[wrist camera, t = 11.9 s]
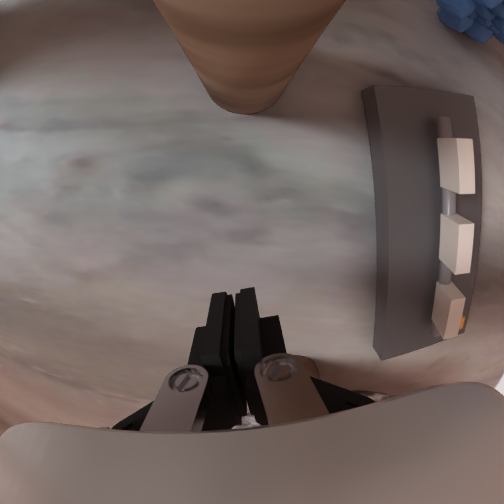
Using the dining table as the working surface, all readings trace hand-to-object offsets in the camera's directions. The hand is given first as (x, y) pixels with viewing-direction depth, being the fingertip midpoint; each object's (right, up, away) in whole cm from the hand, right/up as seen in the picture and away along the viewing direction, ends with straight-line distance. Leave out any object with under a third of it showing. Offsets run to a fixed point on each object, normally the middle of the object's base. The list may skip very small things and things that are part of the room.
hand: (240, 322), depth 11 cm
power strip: (+14, +5, +8) cm, 16 cm away
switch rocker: (+14, +4, +5) cm, 15 cm away
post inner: (0, +14, +4) cm, 14 cm away
